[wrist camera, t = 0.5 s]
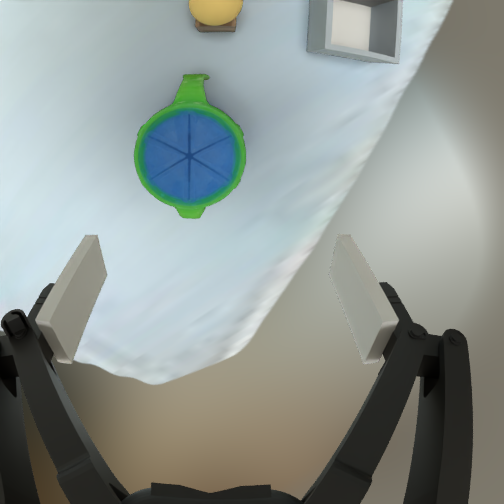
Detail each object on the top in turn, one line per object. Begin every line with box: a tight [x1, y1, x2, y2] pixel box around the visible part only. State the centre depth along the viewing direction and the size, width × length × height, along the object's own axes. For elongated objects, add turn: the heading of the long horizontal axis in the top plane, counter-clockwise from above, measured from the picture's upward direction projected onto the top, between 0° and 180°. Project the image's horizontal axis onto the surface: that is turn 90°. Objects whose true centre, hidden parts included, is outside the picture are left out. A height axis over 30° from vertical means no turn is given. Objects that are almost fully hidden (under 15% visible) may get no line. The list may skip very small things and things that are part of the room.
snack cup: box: [134, 74, 246, 219], centre depth 32 cm, size 16×10×10 cm
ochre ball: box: [189, 0, 243, 26], centre depth 22 cm, size 5×5×5 cm
